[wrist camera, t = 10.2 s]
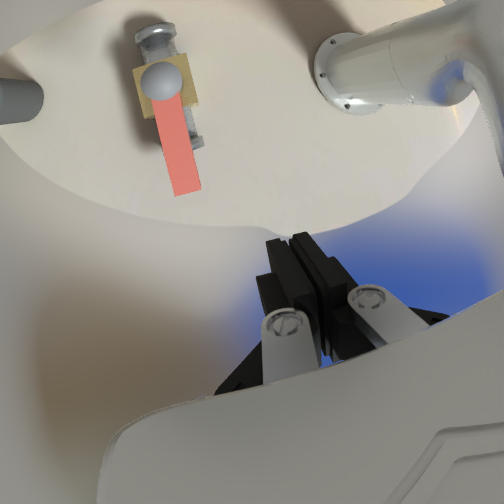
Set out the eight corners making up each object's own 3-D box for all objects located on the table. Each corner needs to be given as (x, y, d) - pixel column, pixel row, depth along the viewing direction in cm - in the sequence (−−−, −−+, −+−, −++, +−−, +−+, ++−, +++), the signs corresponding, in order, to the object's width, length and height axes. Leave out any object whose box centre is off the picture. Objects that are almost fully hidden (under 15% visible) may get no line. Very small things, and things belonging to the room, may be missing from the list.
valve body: (179, 29, 28) (176, 14, 23) (208, 142, 36) (209, 146, 30) (134, 43, 28) (123, 31, 23) (162, 155, 35) (156, 162, 30)
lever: (142, 73, 25) (137, 68, 23) (179, 62, 25) (177, 56, 23) (171, 193, 31) (168, 200, 29) (206, 184, 32) (206, 190, 29)
